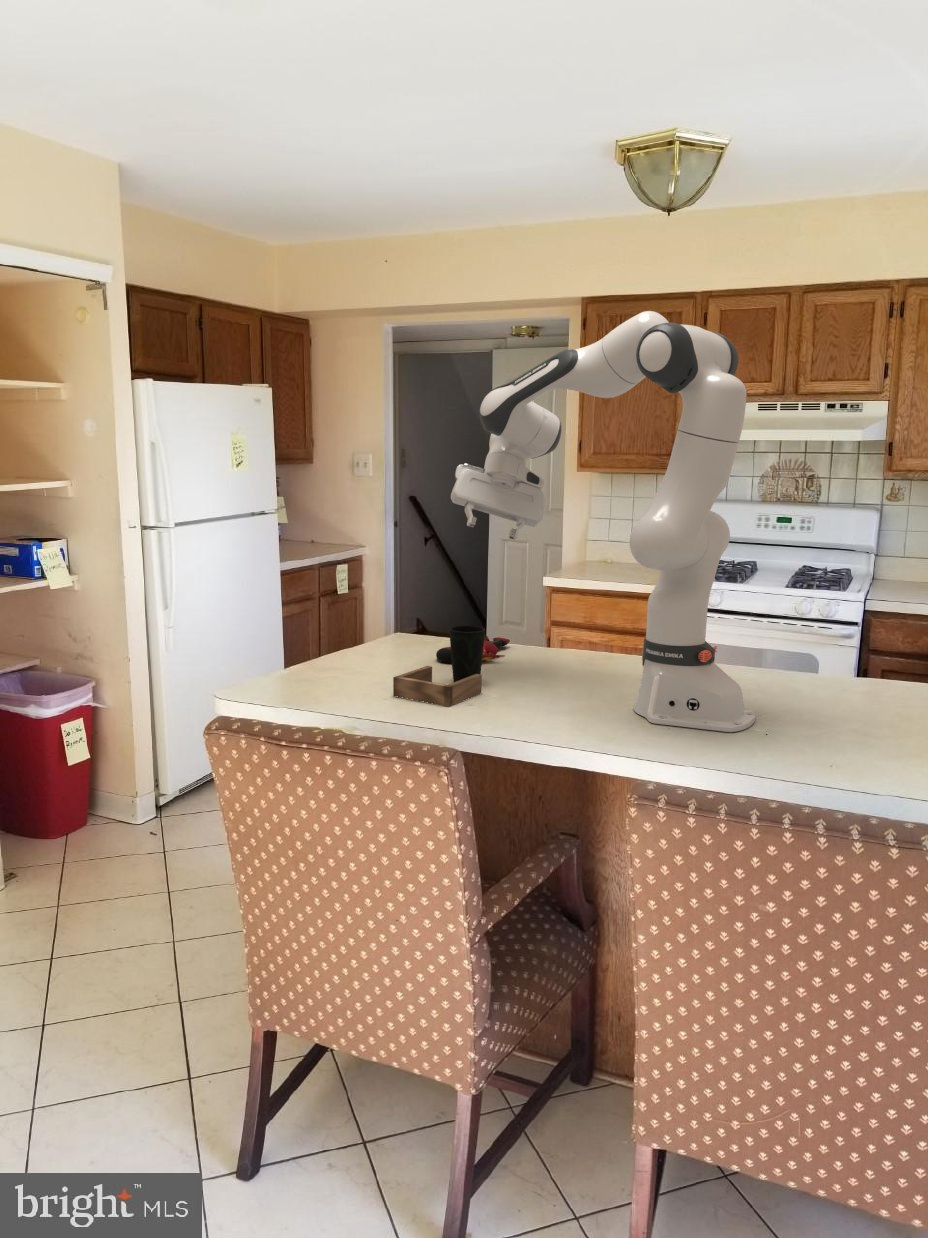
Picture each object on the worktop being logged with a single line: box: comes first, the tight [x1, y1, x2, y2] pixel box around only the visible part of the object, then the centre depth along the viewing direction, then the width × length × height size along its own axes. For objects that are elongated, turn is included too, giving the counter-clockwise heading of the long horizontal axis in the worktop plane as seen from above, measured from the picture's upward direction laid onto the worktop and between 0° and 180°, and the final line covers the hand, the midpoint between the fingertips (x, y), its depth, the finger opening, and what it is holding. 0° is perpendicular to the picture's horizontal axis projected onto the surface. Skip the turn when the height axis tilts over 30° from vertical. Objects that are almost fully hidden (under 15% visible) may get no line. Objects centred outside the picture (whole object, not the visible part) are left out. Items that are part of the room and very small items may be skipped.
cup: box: [448, 625, 486, 683], centre depth 199 cm, size 8×8×12 cm
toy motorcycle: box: [435, 634, 511, 664], centre depth 228 cm, size 25×5×16 cm
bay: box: [392, 665, 483, 708], centre depth 191 cm, size 13×12×4 cm
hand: (491, 531), depth 199 cm, fingers open, 8 cm apart
